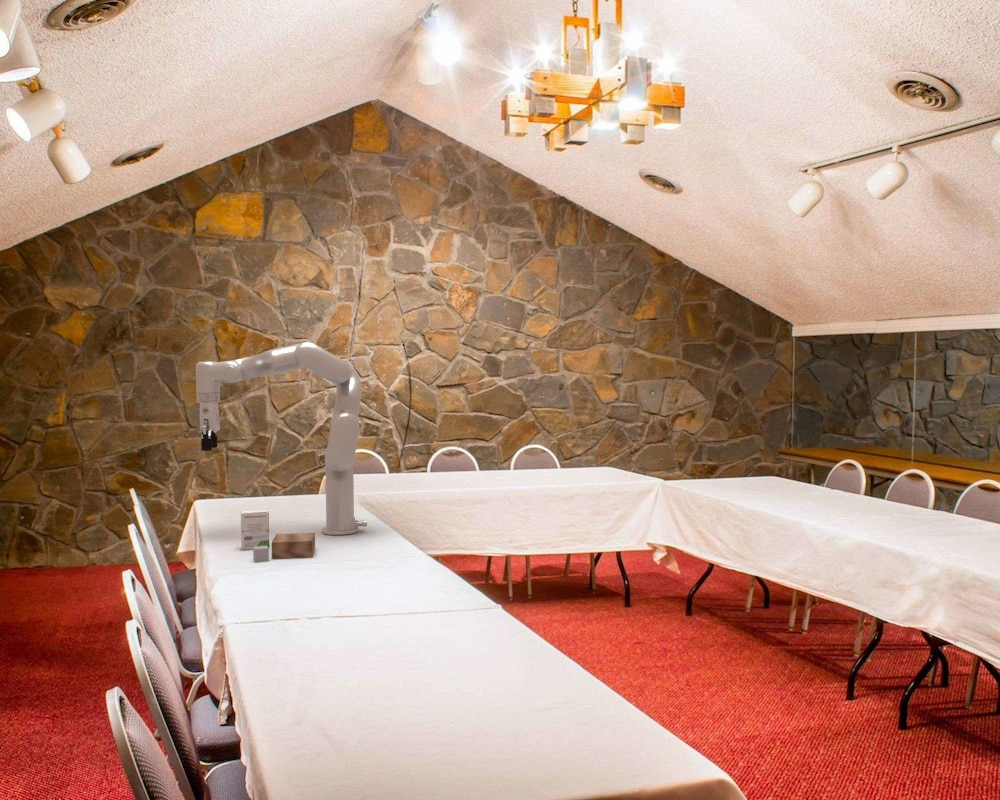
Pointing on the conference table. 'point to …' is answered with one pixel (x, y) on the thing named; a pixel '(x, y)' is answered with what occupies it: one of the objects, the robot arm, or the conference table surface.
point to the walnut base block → (293, 545)
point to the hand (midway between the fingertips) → (209, 449)
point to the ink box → (254, 529)
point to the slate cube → (261, 554)
